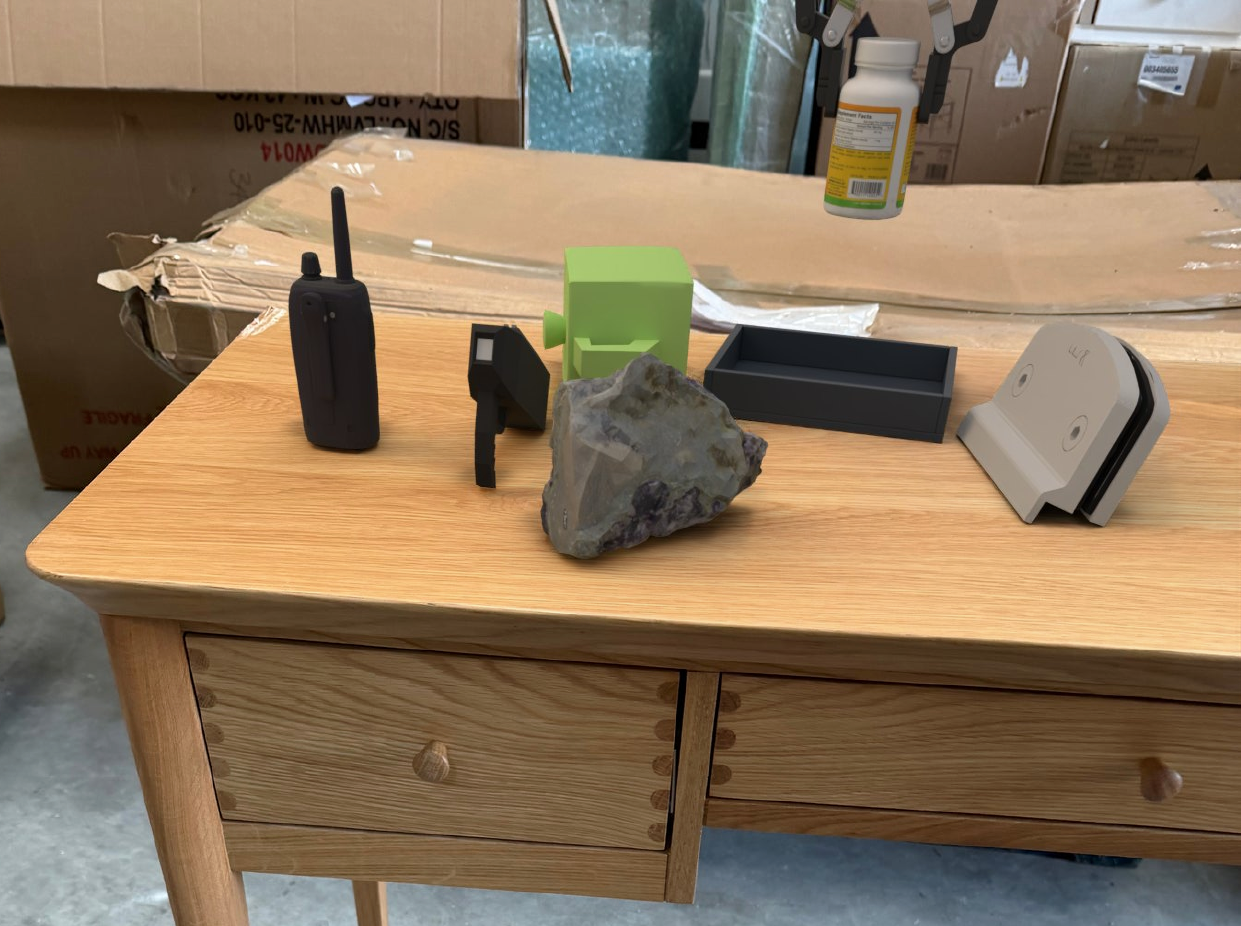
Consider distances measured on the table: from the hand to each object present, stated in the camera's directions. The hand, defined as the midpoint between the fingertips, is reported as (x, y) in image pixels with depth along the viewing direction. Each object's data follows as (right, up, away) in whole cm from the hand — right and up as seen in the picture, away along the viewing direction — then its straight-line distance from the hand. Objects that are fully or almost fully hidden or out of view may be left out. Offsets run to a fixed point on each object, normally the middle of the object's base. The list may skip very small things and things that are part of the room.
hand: (876, 118), depth 77 cm
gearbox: (-17, -14, +11) cm, 25 cm away
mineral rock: (-15, -30, -9) cm, 35 cm away
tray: (-1, -14, +11) cm, 18 cm away
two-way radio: (-36, -21, +1) cm, 42 cm away
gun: (-24, -22, +1) cm, 33 cm away
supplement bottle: (0, -4, +4) cm, 6 cm away
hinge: (+11, -24, 0) cm, 26 cm away
